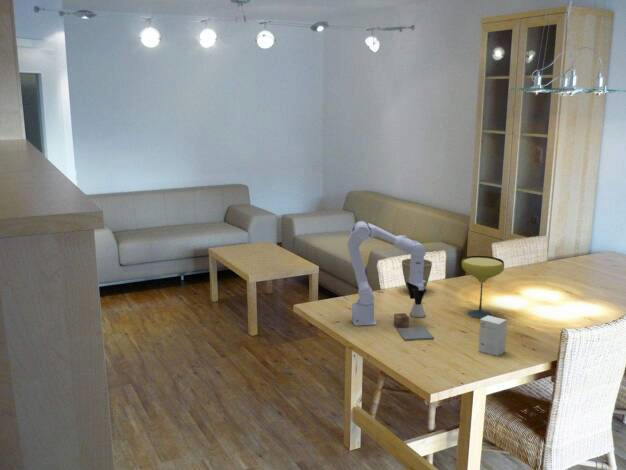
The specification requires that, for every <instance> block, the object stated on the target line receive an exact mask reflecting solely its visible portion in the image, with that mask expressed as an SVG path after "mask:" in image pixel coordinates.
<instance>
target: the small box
mask: <svg viewBox="0 0 626 470" xmlns="http://www.w3.org/2000/svg"><path fill="white" fill-rule="evenodd" d="M478 334H479V336H478V352H481V353H485V354H489V355H491V356H494V357H498V356H500V355H502V354H503V353H505V352H506V340H507V338H506V337H507V319H504V318H500V317H495V316H493V315H492V316H489V315H488V316H486V317H484V318H482V319H480V318H479V333H478Z"/></svg>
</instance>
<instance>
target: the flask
mask: <svg viewBox="0 0 626 470" xmlns="http://www.w3.org/2000/svg"><path fill="white" fill-rule="evenodd" d="M409 316H410V317H413V318H415V319H416V318H417V319H419V318H421V319H422V318H425V317H426V316H427V315H426V312H425V309H424V306H423V301H422V302H421V304H419V305H416V304H415V301H413V304H412V307H411V310H410V312H409Z"/></svg>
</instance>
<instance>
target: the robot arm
mask: <svg viewBox="0 0 626 470" xmlns="http://www.w3.org/2000/svg"><path fill="white" fill-rule="evenodd" d="M375 237H377V238H380V239H382V240H385V241H387V242H389V243H391V244H392V245H393V246H394V248H395V249H398V250H400V251H403V252H405V253H407V254H410V259H411V260H410V276H409V282H406V284H407V287H408V290H409V293H408V295H409V298H410V300H412V299H413V300H414V302H415V304H416V305H419V304H421V302H422V303H423V299H424V296H425V293H427V289H426V288H425V289H424V286H423V283H426V281H425V280H423V270H424V259H425V258H424V257H425V255H426V249H425V247H424V245H423V244H422V243H420V242H419V241H417V240H415V239H414V240H413V239H410V238H408V237H407V235H406V234H403V235H402V234H399V235H394V234H393V233H391V232H388V231H386V230H385V229H383V228H380V227H379V226H377V225H374V224H372V223H369V222H368V223H367V222H366V221H363V220H359V221H357V222H356V223H355V224H354V225H353V226H352V228H351V231H350V234H349V236H348V239H347V243H346V245H347V249H348V254H349V258H350V260H351V264H352V267H353V271H354V275H355V279H356V283H357V287H358V290H357V292H358V296H359V297H358V300H357V302H354V303H352V304H351V319H350V320H351V321H352V323H353V326H356V327H357V326H358V327H359V326H373V325H374V326H376V325H377V322H376V320H375V301H374V299H375V296H374V293H373V288H372V287H371V286H370V284H369V281H368V277H367V274H366V271H365V267H364V262H363V258H362V255H361V251H360V246H361V245H362V243H363V242H364V241H365V240H367V239H368V238H370V239H372V238H375ZM406 284H405V285H406ZM407 287H406V288H407ZM408 290H407V291H408Z"/></svg>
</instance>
